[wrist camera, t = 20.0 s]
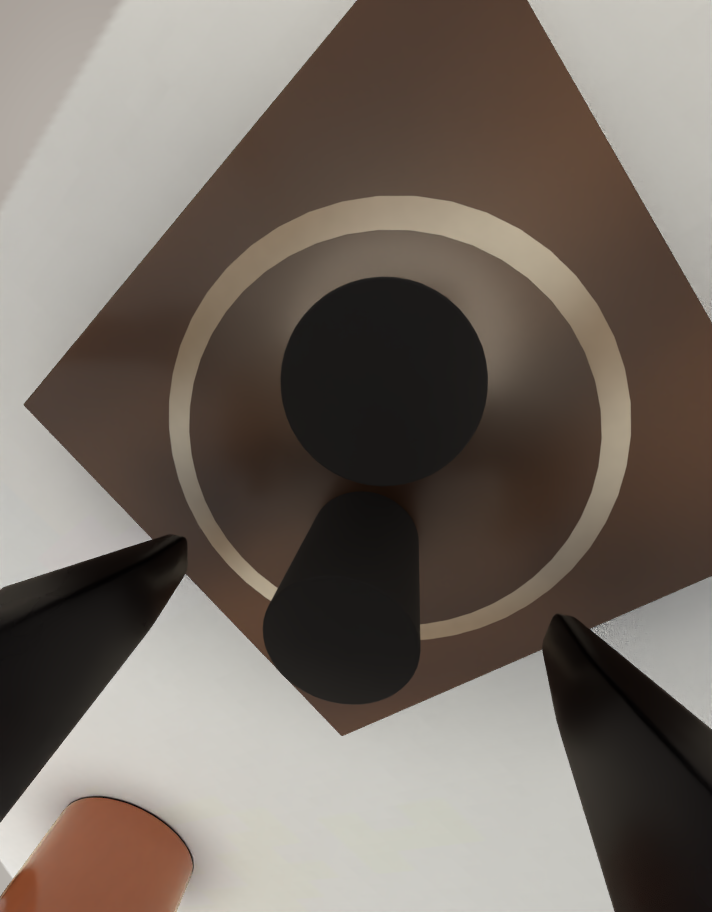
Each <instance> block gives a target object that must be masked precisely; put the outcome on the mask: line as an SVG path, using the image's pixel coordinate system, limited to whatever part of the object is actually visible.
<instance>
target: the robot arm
mask: <svg viewBox="0 0 712 912" xmlns="http://www.w3.org/2000/svg"><path fill="white" fill-rule="evenodd" d="M187 568H188V542H187V539H186V538H185V537H184V536H179V535H174V534H168V535H165V536H162V537H159V538H156V539H152V540H149V541H146V542H143V543H140V544H137V545H134V546H131V547H127V548H124V549H121V550H118V551H115V552H112V553H109V554H106V555H102V556H99V557H96V558H93V559H90V560H87V561H84V562H81V563H78V564H74V565H71V566H68V567H65V568H62V569H59V570H56V571H53V572H49V573H46V574H43V575H40V576H37V577H34V578H31V579H28V580H25V581H21V582H18V583H15V584H12V585H9V586H6V587H3V588H2V589H1V590H0V822H1V821H2V820H3V818H4V817H5V816H6V815H7V813H8V812H9V811H10V809H11V808H12V807H13V806H14V804H15V803H16V802H17V800H18V799H19V798H20V796H21V795H22V794H23V793H24V791H25V790H26V789H27V787H28V786H29V785H30V784H31V782H32V781H33V780H34V778H35V777H36V776H37V775H38V773H39V772H40V771H41V769H42V768H43V767H44V765H45V764H46V763H47V762H48V760H49V759H50V758H51V756H52V755H53V754H54V753H55V751H56V750H57V749H58V747H59V746H60V745H61V744H62V742H63V741H64V740H65V738H66V737H67V736H68V735H69V733H70V732H71V731H72V729H73V728H74V727H75V725H76V724H77V723H78V722H79V720H80V719H81V718H82V716H83V715H84V714H85V713H86V711H87V710H88V709H89V707H90V706H91V705H92V704H93V702H94V701H95V700H96V698H97V697H98V696H99V695H100V693H101V692H102V691H103V689H104V688H105V687H106V685H107V684H108V683H109V682H110V680H111V679H112V678H113V676H114V675H115V674H116V673H117V671H118V670H119V669H120V667H121V666H122V665H123V664H124V662H125V661H126V660H127V658H128V657H129V656H130V654H131V653H132V652H133V651H134V649H135V648H136V647H137V645H138V644H139V643H140V642H141V640H142V639H143V638H144V636H145V635H146V634H147V632H148V631H149V630H150V628H151V627H152V626H153V624H154V623H155V621H156V620H157V618H158V617H159V615H160V613H161V612H162V610H163V609H164V607H165V605H166V604H167V602H168V601H169V599H170V597H171V596H172V594H173V593H174V591H175V589H176V588H177V586H178V585H179V583H180V582H181V580H182V578H183V577H184V575H185V573H186V571H187ZM542 649H543V656H544V661H545V666H546V671H547V676H548V681H549V686H550V691H551V696H552V701H553V706H554V711H555V715H556V720H557V724H558V727H559V731H560V734H561V737H562V741H563V744H564V747H565V751H566V754H567V757H568V760H569V764H570V767H571V770H572V774H573V777H574V780H575V783H576V787H577V790H578V793H579V797H580V800H581V803H582V806H583V810H584V813H585V816H586V819H587V823H588V826H589V829H590V833H591V836H592V839H593V842H594V846H595V849H596V852H597V856H598V859H599V862H600V865H601V869H602V872H603V875H604V878H605V882H606V885H607V888H608V892H609V895H610V898H611V901H612V905H613V908H614V911H615V912H712V729H711V728H709V727H708V726H707V725H706V724H705V723H703V722H702V721H701V720H700V719H698V718H697V717H696V716H695V715H694V714H692V713H691V712H690V711H689V710H687V709H686V708H685V707H684V706H683V705H681V704H680V703H679V702H678V701H677V700H675V699H674V698H673V697H672V696H670V695H669V694H668V693H667V692H666V691H664V690H663V689H662V688H661V687H659V686H658V685H657V684H656V683H655V682H653V681H652V680H651V679H650V678H648V677H647V676H646V675H645V674H644V673H642V672H641V671H640V670H639V669H638V668H636V667H635V666H634V665H633V664H631V663H630V662H629V661H628V660H627V659H625V658H624V657H623V656H622V655H620V654H619V653H618V652H617V651H616V650H614V649H613V648H612V647H611V646H609V645H608V644H607V643H606V642H605V641H603V640H602V639H601V638H600V637H599V636H597V635H596V634H595V633H594V632H592V631H591V630H590V629H589V628H588V627H586V626H585V625H584V624H583V623H581V622H580V621H579V620H578V619H577V618H575V617H573V616H568V615H563V614H558V613H557V614H554V615H553V617H552V618H551V621H550V624H549V626H548V629H547V632H546V634H545V637H544V640H543V645H542Z"/></svg>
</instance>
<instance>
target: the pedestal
mask: <svg viewBox="0 0 712 912" xmlns="http://www.w3.org/2000/svg"><path fill="white" fill-rule="evenodd" d="M192 871H193V863H192V858H191V856H190V853H189V851H188V849H187V847H186V846H185V844H184V843H183V841H182V840H181V839H180V838H179V837H178V835H177V834H176V833H175V832H174V831H173V830H171V829H170V828H169V827H168V826H167V825H166V824H164V823H163V822H162V821H160V820H159V819H157V818H156V817H154V816H153V815H151V814H149V813H147V812H146V811H144V810H142V809H139V808H137V807H135V806H132V805H130V804H127V803H124V802H121V801H117V800H113V799H107V798H95V797H93V798H84V799H79V800H77V801H74V802H73V803H71V804H69V805H68V806H67V807H66V808H65V809H64V810H63V812H62V813H61V814H60V816H59V817H58V818H57V820H56V821H55V823H54V824H53V825H52V827H51V828H50V829H49V831H48V832H47V833H46V835H45V836H44V837H43V839H42V840H41V842H40V843H39V844H38V846H37V847H36V848H35V850H34V851H33V852H32V854H31V855H30V856H29V858H28V859H27V861H26V862H25V863H24V865H23V866H22V867H21V869H20V870H19V871H18V873H17V874H16V875H15V877H14V878H13V880H12V881H11V882H10V884H9V885H8V886H7V888H6V889H5V890H4V892H3V893H2V895H1V896H0V912H177V910H178V907H179V905H180V902H181V900H182V897H183V895H184V893H185V890H186V888H187V885H188V883H189V880H190V878H191V875H192Z"/></svg>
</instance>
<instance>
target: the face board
mask: <svg viewBox="0 0 712 912" xmlns="http://www.w3.org/2000/svg"><path fill="white" fill-rule="evenodd" d="M372 277H398V278H404V279H409V280H412V281H415V282H419V283H422V284H424V285H426V286H428V287H430V288H432V289H434V290H436V291H438V292H439V293H441V294H442V295H444V296H445V297H447V298H448V299H449V300H450V301H451V302H453V303H454V304H455V305H456V306H457V307H458V308H459V309H460V310H461V311H462V313H463V314H464V315H465V316H466V317H467V319H468V320H469V321H470V323H471V325H472V326H473V328H474V330H475V331H476V333H477V335H478V338H479V340H480V342H481V345H482V347H483V351H484V355H485V358H486V363H487V371H488V392H487V398H486V404H485V408H484V411H483V415H482V418H481V420H480V423H479V425H478V427H477V429H476V431H475V433H474V434H473V436H472V438H471V439H470V441H469V442H468V444H467V445H466V446H465V448H464V449H463V450H462V451H461V452H460V453H459V454H458V455H457V456H456V457H455V458H454V459H453V460H452V461H451V462H450V463H448V464H447V465H446V466H444V467H443V468H442V469H440V470H439V471H437V472H435V473H433V474H432V475H430V476H428V477H425V478H423V479H420V480H418V481H415V482H411V483H407V484H402V485H396V486H373V485H365V484H361V483H356V482H353V481H350V480H348V479H345V478H343V477H340V476H338V475H336V474H334V473H333V472H331V471H329V470H328V469H326V468H325V467H323V466H322V465H321V464H320V463H318V462H317V461H316V460H315V459H314V458H313V457H312V456H311V455H310V454H309V453H308V452H307V451H306V450H305V449H304V447H303V446H302V445H301V443H300V442H299V441H298V439H297V438H296V436H295V434H294V432H293V431H292V429H291V427H290V424H289V422H288V420H287V417H286V414H285V410H284V407H283V403H282V396H281V383H280V376H281V366H282V361H283V357H284V352H285V349H286V346H287V344H288V341H289V338H290V337H291V335H292V333H293V331H294V329H295V327H296V325H297V324H298V323H299V321H300V320H301V318H302V317H303V316H304V314H305V313H306V312H307V311H308V310H309V309H310V308H311V307H312V306H313V305H314V304H315V303H316V302H317V301H319V300H320V299H321V298H322V297H323V296H325V295H326V294H328V293H330V292H331V291H333V290H335V289H336V288H338V287H340V286H343V285H345V284H347V283H350V282H353V281H357V280H360V279H364V278H372ZM24 406H25V407H26V408H27V409H28V410H29V411H30V412H31V413H32V414H33V415H34V416H35V417H36V418H37V420H38V421H39V422H40V423H41V424H42V425H43V426H44V427H45V428H46V429H47V430H48V431H49V432H50V433H51V434H52V435H53V436H54V437H55V438H56V439H57V440H58V441H59V442H60V443H61V444H62V446H63V447H64V448H65V449H66V450H67V451H68V452H69V453H70V454H71V455H72V456H73V457H74V458H75V459H76V460H77V461H78V462H79V463H80V464H81V465H82V466H83V467H84V468H85V469H86V471H87V472H88V473H89V474H90V475H91V476H92V477H93V478H94V479H95V480H96V481H97V482H98V483H99V484H100V485H101V486H102V487H103V488H104V489H105V490H106V491H107V492H108V493H109V494H110V495H111V497H112V498H113V499H114V500H115V501H116V502H117V503H118V504H119V505H120V506H121V507H122V508H123V509H124V510H125V511H126V512H127V513H128V514H129V515H130V516H131V517H132V518H133V519H134V520H135V522H136V523H137V524H138V525H139V526H140V527H141V528H142V529H143V530H144V531H145V532H146V533H147V534H148V535H149V536H150V537H151V538H152V539H156V538H159V537H162V536H165V535H168V534H174V535H179V536H184V537H185V538H186V539H187V542H188V568H187V571H186V573H185V574H186V575H187V576H188V577H189V578H190V579H191V580H192V581H193V582H194V583H195V584H196V585H197V586H198V587H199V588H200V589H201V590H202V591H203V592H204V593H205V594H206V595H207V596H208V597H209V599H210V600H211V601H212V602H213V603H214V604H215V605H216V606H217V607H218V608H219V609H220V610H221V611H222V612H223V613H224V614H225V615H226V616H227V617H228V618H229V619H230V620H231V621H232V622H233V623H234V625H235V626H236V627H237V628H238V629H239V630H240V631H241V632H242V633H243V634H244V635H245V636H246V637H247V638H248V639H249V640H250V641H251V642H252V643H253V644H254V645H255V646H256V647H257V648H258V649H259V651H260V652H261V653H262V654H263V655H264V656H265V657H266V658H267V659H268V660H269V661H270V662H271V663H272V664H273V662H272V661H271V659H270V657H269V655H268V653H267V650H266V647H265V644H264V639H263V620H264V616H265V612H266V610H267V608H268V606H269V604H270V602H271V600H272V598H273V596H274V594H275V593H276V591H277V589H278V587H279V585H280V583H281V581H282V580H283V578H284V576H285V574H286V572H287V570H288V568H289V567H290V565H291V563H292V561H293V559H294V557H295V555H296V553H297V552H298V550H299V548H300V546H301V544H302V542H303V540H304V539H305V537H306V535H307V533H308V531H309V529H310V527H311V526H312V524H313V522H314V520H315V518H316V516H317V514H318V513H319V512H320V510H321V509H322V508H323V507H324V506H325V505H326V504H327V503H328V502H329V501H331V500H332V499H334V498H336V497H338V496H340V495H342V494H346V493H350V492H360V491H364V492H372V493H377V494H380V495H383V496H385V497H387V498H390V499H391V500H393V501H395V502H396V503H398V504H399V505H400V506H401V507H402V508H403V509H404V510H405V511H406V512H407V513H408V514H409V516H410V517H411V518H412V520H413V522H414V524H415V526H416V529H417V533H418V538H419V585H420V642H421V652H420V660H419V663H418V667H417V669H416V671H415V673H414V675H413V677H412V678H411V679H410V681H409V682H408V683H407V684H406V685H405V686H404V687H403V688H402V689H401V690H400V691H398V692H397V693H396V694H394V695H392V696H390V697H388V698H386V699H383V700H381V701H377V702H373V703H369V704H361V705H348V704H339V703H333V702H329V701H325V700H322V699H319V698H317V697H314V696H312V695H310V694H308V693H306V692H304V691H302V690H301V689H299V688H297V687H296V686H295V685H293V684H292V683H291V682H290V683H291V684H292V685H293V686H294V687H295V688H296V689H297V690H298V691H299V692H300V693H301V694H302V695H303V696H304V697H305V698H306V699H307V700H308V702H309V703H310V704H311V705H312V706H313V707H314V708H315V709H316V710H317V711H318V712H319V713H320V714H321V715H322V716H323V717H324V718H325V719H326V720H327V721H328V722H329V723H330V724H331V725H332V726H333V728H334V729H335V730H336V731H337V732H338V733H339V734H340V735H341V736H344V735H346V734H348V733H351V732H353V731H355V730H358V729H360V728H362V727H365V726H367V725H369V724H371V723H374V722H376V721H378V720H381V719H383V718H385V717H388V716H390V715H392V714H394V713H397V712H399V711H401V710H404V709H406V708H408V707H411V706H413V705H415V704H418V703H420V702H422V701H424V700H427V699H429V698H431V697H434V696H436V695H438V694H441V693H443V692H445V691H448V690H450V689H452V688H454V687H457V686H459V685H461V684H464V683H466V682H468V681H471V680H473V679H475V678H477V677H480V676H482V675H484V674H487V673H489V672H491V671H494V670H496V669H498V668H501V667H503V666H505V665H507V664H510V663H512V662H514V661H517V660H519V659H521V658H524V657H526V656H528V655H531V654H533V653H535V652H537V651H540V650H542V645H543V640H544V637H545V634H546V632H547V629H548V626H549V624H550V621H551V618H552V617H553V615H554V614H557V613H558V614H563V615H568V616H573V617H575V618H577V619H578V620H579V621H580V622H581V623H583V624H584V625H585V626H586V627H588V628H589V629H590V628H593V627H595V626H597V625H600V624H602V623H604V622H607V621H609V620H611V619H614V618H616V617H618V616H620V615H623V614H625V613H627V612H630V611H632V610H634V609H637V608H639V607H641V606H644V605H646V604H648V603H650V602H653V601H655V600H657V599H660V598H662V597H664V596H667V595H669V594H671V593H673V592H676V591H678V590H680V589H683V588H685V587H687V586H690V585H692V584H694V583H697V582H699V581H701V580H703V579H706V578H708V577H710V576H712V322H711V320H710V319H709V317H708V315H707V313H706V312H705V310H704V308H703V307H702V305H701V303H700V301H699V300H698V298H697V296H696V294H695V293H694V291H693V289H692V287H691V286H690V284H689V282H688V280H687V279H686V277H685V275H684V273H683V272H682V270H681V268H680V266H679V265H678V263H677V261H676V259H675V258H674V256H673V254H672V252H671V251H670V249H669V247H668V245H667V244H666V242H665V240H664V238H663V237H662V235H661V233H660V231H659V230H658V228H657V226H656V224H655V223H654V221H653V219H652V217H651V216H650V214H649V212H648V210H647V209H646V207H645V205H644V203H643V202H642V200H641V198H640V196H639V195H638V193H637V191H636V190H635V188H634V186H633V184H632V183H631V181H630V179H629V177H628V176H627V174H626V172H625V170H624V169H623V167H622V165H621V163H620V162H619V160H618V158H617V156H616V155H615V153H614V151H613V149H612V148H611V146H610V144H609V142H608V141H607V139H606V137H605V135H604V134H603V132H602V130H601V128H600V127H599V125H598V123H597V121H596V120H595V118H594V116H593V114H592V113H591V111H590V109H589V107H588V106H587V104H586V102H585V100H584V99H583V97H582V95H581V93H580V92H579V90H578V88H577V86H576V85H575V83H574V81H573V79H572V78H571V76H570V74H569V72H568V71H567V69H566V67H565V66H564V64H563V62H562V60H561V59H560V57H559V55H558V53H557V52H556V50H555V48H554V46H553V45H552V43H551V41H550V39H549V38H548V36H547V34H546V32H545V31H544V29H543V27H542V25H541V24H540V22H539V20H538V18H537V17H536V15H535V13H534V11H533V10H532V8H531V6H530V4H529V3H528V1H527V0H357V1H356V2H355V3H354V5H353V6H352V7H351V8H350V10H349V11H348V12H347V13H346V14H345V16H344V17H343V18H342V19H341V20H340V22H339V23H338V24H337V25H336V26H335V28H334V29H333V30H332V31H331V33H330V34H329V35H328V36H327V37H326V39H325V40H324V41H323V42H322V43H321V45H320V46H319V47H318V48H317V49H316V51H315V52H314V53H313V54H312V56H311V57H310V58H309V59H308V60H307V62H306V63H305V64H304V65H303V66H302V68H301V69H300V70H299V71H298V73H297V74H296V75H295V76H294V77H293V79H292V80H291V81H290V82H289V83H288V85H287V86H286V87H285V88H284V89H283V91H282V92H281V93H280V94H279V96H278V97H277V98H276V99H275V100H274V102H273V103H272V104H271V105H270V106H269V108H268V109H267V110H266V111H265V112H264V114H263V115H262V116H261V117H260V119H259V120H258V121H257V122H256V123H255V125H254V126H253V127H252V128H251V129H250V131H249V132H248V133H247V134H246V136H245V137H244V138H243V139H242V140H241V142H240V143H239V144H238V145H237V146H236V148H235V149H234V150H233V151H232V152H231V154H230V155H229V156H228V157H227V159H226V160H225V161H224V162H223V163H222V165H221V166H220V167H219V168H218V169H217V171H216V172H215V173H214V174H213V176H212V177H211V178H210V179H209V180H208V182H207V183H206V184H205V185H204V186H203V188H202V189H201V190H200V191H199V192H198V194H197V195H196V196H195V197H194V199H193V200H192V201H191V202H190V203H189V205H188V206H187V207H186V208H185V209H184V211H183V212H182V213H181V214H180V215H179V217H178V218H177V219H176V220H175V222H174V223H173V224H172V225H171V226H170V228H169V229H168V230H167V231H166V232H165V234H164V235H163V236H162V237H161V239H160V240H159V241H158V242H157V243H156V245H155V246H154V247H153V248H152V249H151V251H150V252H149V253H148V254H147V255H146V257H145V258H144V259H143V260H142V262H141V263H140V264H139V265H138V266H137V268H136V269H135V270H134V271H133V272H132V274H131V275H130V276H129V277H128V278H127V280H126V281H125V282H124V283H123V285H122V286H121V287H120V288H119V289H118V291H117V292H116V293H115V294H114V295H113V297H112V298H111V299H110V300H109V302H108V303H107V304H106V305H105V306H104V308H103V309H102V310H101V311H100V312H99V314H98V315H97V316H96V317H95V318H94V320H93V321H92V322H91V323H90V325H89V326H88V327H87V328H86V329H85V331H84V332H83V333H82V334H81V335H80V337H79V338H78V339H77V340H76V341H75V343H74V344H73V345H72V346H71V348H70V349H69V350H68V351H67V352H66V354H65V355H64V356H63V357H62V358H61V360H60V361H59V362H58V363H57V365H56V366H55V367H54V368H53V369H52V371H51V372H50V373H49V374H48V375H47V377H46V378H45V379H44V380H43V381H42V383H41V384H40V385H39V386H38V388H37V389H36V390H35V391H34V392H33V394H32V395H31V396H30V397H29V398H28V400H27V401H26V402H25V403H24ZM273 665H274V664H273ZM274 666H275V665H274Z"/></svg>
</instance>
